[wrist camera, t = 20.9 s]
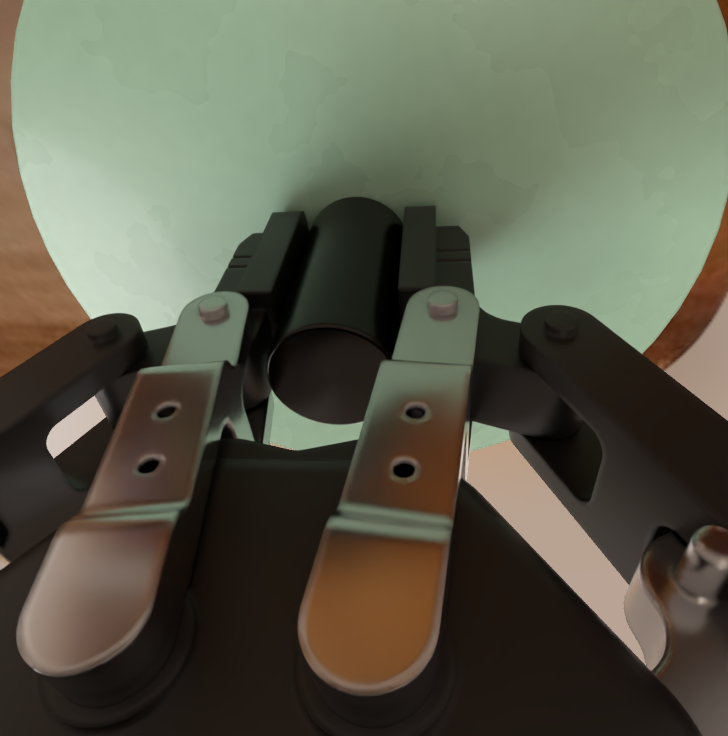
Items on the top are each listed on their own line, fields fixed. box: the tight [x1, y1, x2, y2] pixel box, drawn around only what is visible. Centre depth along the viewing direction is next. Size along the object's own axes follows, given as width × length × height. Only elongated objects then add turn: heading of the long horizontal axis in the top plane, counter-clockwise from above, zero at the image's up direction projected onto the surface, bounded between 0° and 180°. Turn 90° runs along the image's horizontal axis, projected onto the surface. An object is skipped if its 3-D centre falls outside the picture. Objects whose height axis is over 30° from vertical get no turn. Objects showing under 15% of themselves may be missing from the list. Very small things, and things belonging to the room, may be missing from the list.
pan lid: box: [11, 0, 728, 451], centre depth 12 cm, size 16×16×6 cm
